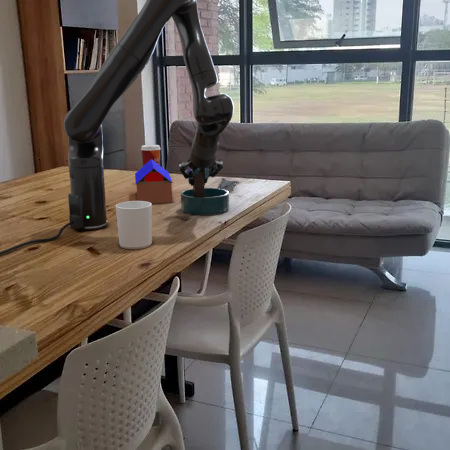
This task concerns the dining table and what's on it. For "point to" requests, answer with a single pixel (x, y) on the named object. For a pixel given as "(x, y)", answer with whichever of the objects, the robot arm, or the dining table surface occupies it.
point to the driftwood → (226, 184)
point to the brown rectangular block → (199, 185)
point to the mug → (134, 224)
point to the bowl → (205, 202)
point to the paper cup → (150, 153)
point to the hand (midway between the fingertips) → (197, 182)
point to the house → (153, 184)
